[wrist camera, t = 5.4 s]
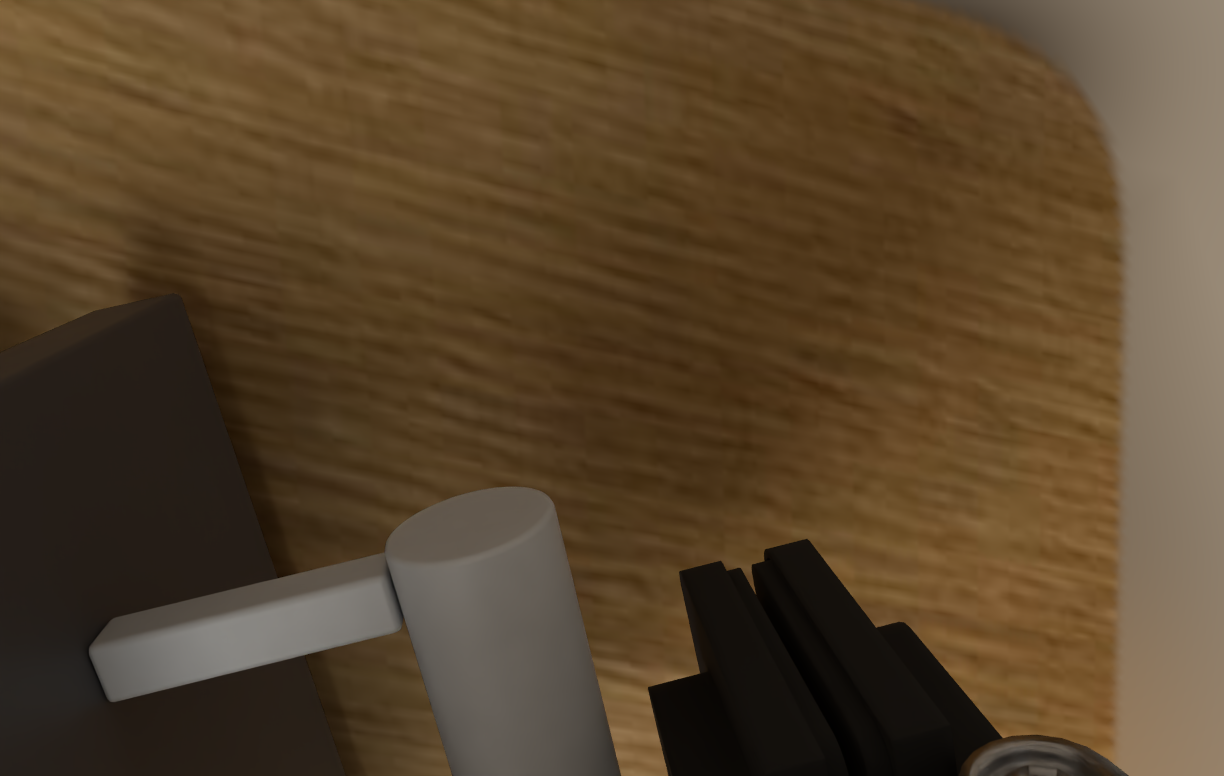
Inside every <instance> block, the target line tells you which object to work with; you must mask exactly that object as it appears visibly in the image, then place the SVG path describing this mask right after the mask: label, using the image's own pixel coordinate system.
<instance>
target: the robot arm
mask: <svg viewBox="0 0 1224 776" xmlns="http://www.w3.org/2000/svg"><path fill="white" fill-rule="evenodd" d="M764 560H765V561H764V562H760V563H756V564H752V575H753V581H754V586H755V591H756V594H755V593H754V591H753V589H752V587H751V586H750V584H749V582H748V580H747V578H746V577H745V575H744V573H743V571H742V570H741V568H737V569H733V570H729V571H726V569H725V567H724V565H723V563H722V562H721V561H718V562H714V563H710V564H706V565H702V566H698V567H694V568H690V569H687V570H683V571H679V575H680V582H681V587H682V591H683V596H684V601H685V605H686V610H687V614H688V619H689V624H690V628H691V633H692V637H693V642H694V647H695V651H696V656H697V661H698V665H699V670H700V674H697V675H693V676H689V677H685V678H681V679H678V680H674V681H670V682H666V683H662V684H658V685H655V686H651V687H648V691H649V695H650V700H651V704H652V708H653V713H654V717H655V721H656V725H657V730H658V734H659V738H660V742H661V746H662V751H663V755H664V759H665V763H666V767H667V771H668V775H669V776H1128V775H1127V774H1126V773H1124V772H1123V771H1122V770H1121V769H1119V768H1118V767H1117V766H1115V765H1114V764H1113V763H1112V762H1110V761H1109V760H1108V759H1106V758H1105V757H1103V756H1101V755H1100V754H1098V753H1096V752H1095V751H1093V750H1091V749H1090V748H1088V747H1086V746H1083V745H1080V744H1077V743H1074V742H1072V741H1069V740H1066V739H1063V738H1056V737H1049V736H1042V735H1020V736H1010V737H1006V738H1002V737H1001V736H1000V734H999V733H998V732H997V731H996V730H995V728H994V727H993V726H992V725H991V724H990V722H989V721H988V720H987V719H986V718H985V716H984V715H983V714H982V713H981V712H980V710H979V709H978V708H977V707H976V706H975V704H974V703H973V702H972V701H971V700H970V699H969V697H968V696H967V695H966V694H965V693H964V691H963V690H962V689H961V688H960V687H959V685H958V684H957V683H956V682H955V681H954V679H953V678H952V677H951V676H950V675H949V673H948V672H947V671H946V670H945V669H944V667H943V666H942V665H941V664H940V663H939V662H938V660H937V659H936V658H935V657H934V656H933V654H932V653H931V652H930V651H929V650H928V648H927V647H926V646H925V645H924V644H923V642H922V641H921V640H920V639H919V638H918V636H917V635H916V634H915V633H914V632H913V630H912V629H911V628H910V627H909V626H908V625H906V624H905V623H904V622H897V623H893V624H889V625H885V626H881V627H877V628H876V627H875V626H874V624H873V623H872V622H871V620H870V619H869V618H868V617H867V615H866V614H865V613H864V611H863V610H862V609H861V607H860V606H859V605H858V604H857V602H856V601H855V600H854V598H853V597H852V596H851V594H850V593H849V592H848V591H847V589H846V588H845V587H844V585H843V584H842V583H841V581H840V580H839V579H838V577H837V576H836V575H835V574H834V572H833V571H832V570H831V568H830V567H829V566H828V564H827V563H826V562H825V561H824V559H823V558H822V557H821V555H820V554H819V553H818V551H817V550H816V549H815V548H814V546H813V545H812V544H811V542H810V541H809V540H808V539H805V540H801V541H797V542H793V543H789V544H785V545H781V546H777V547H773V548H769V549H765V551H764Z"/></svg>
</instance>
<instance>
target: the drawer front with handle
mask: <svg viewBox="0 0 1224 776" xmlns="http://www.w3.org/2000/svg"><path fill="white" fill-rule="evenodd" d="M403 617H404V619H405V622H406V625H407V629H408V632H409V635H410V638H411V642H412V645H413V648H414V651H415V655H416V658H417V661H418V665H419V668H420V671H421V674H422V678H423V681H424V684H425V687H426V691H427V694H428V697H429V700H430V704H431V707H432V710H433V714H434V717H435V720H436V723H437V727H438V730H439V733H440V736H441V740H442V743H443V746H444V750H445V753H446V756H447V759H448V763H449V766H450V769H451V772H452V776H621V774H620V769H619V765H618V761H617V757H616V753H615V749H614V745H613V741H612V737H611V733H610V729H609V725H608V721H607V717H606V713H605V709H604V704H603V700H602V696H601V692H600V688H599V684H598V680H597V676H596V672H595V668H594V664H593V660H592V656H591V652H590V648H589V643H588V639H587V635H586V631H585V627H584V623H583V619H582V615H581V611H580V607H579V603H578V599H577V595H576V591H575V587H574V583H573V578H572V574H571V570H570V566H569V562H568V558H567V554H566V550H565V546H564V542H563V538H562V534H561V530H560V526H559V522H558V517H557V513H556V509H555V506H554V503H553V501H552V500H551V499H550V498H549V496H548V495H546V494H545V493H544V492H541V491H539V490H536V489H533V488H527V487H498V488H490V489H484V490H478V491H474V492H469V493H466V494H462V495H459V496H455V497H452V498H449V499H447V500H444V501H441V502H439V503H437V504H434V505H432V506H430V507H428V508H426V509H424V510H422V511H420V512H418V513H416V514H415V515H413V516H411V517H410V518H408V519H407V520H405V521H404V522H403V523H401V524H400V525H399V526H398V527H397V528H396V529H395V530H394V531H393V532H392V533H391V534H390V536H389V537H388V539H387V542H386V546H385V552H384V553H380V554H376V555H372V556H368V557H364V558H359V559H355V560H351V561H347V562H343V563H339V564H335V565H331V566H326V567H322V568H318V569H314V570H310V571H306V572H302V573H298V574H293V575H289V576H285V577H281V578H278V577H277V574H276V572H275V569H274V566H273V563H272V560H271V557H270V554H269V551H268V548H267V545H266V542H265V540H264V537H263V534H262V531H261V528H260V525H259V522H258V519H257V516H256V513H255V511H254V508H253V505H252V502H251V499H250V496H249V493H248V490H247V487H246V484H245V481H244V479H243V476H242V473H241V470H240V467H239V464H238V461H237V458H236V455H235V452H234V449H233V447H232V444H231V441H230V438H229V435H228V432H227V429H226V426H225V423H224V420H223V418H222V415H221V412H220V409H219V406H218V403H217V400H216V397H215V394H214V391H213V388H212V386H211V383H210V380H209V377H208V374H207V371H206V368H205V365H204V362H203V359H202V356H201V354H200V351H199V348H198V345H197V342H196V339H195V336H194V333H193V330H192V327H191V325H190V322H189V319H188V316H187V313H186V310H185V307H184V304H183V301H182V298H181V297H180V295H179V294H174V293H172V294H168V295H164V296H159V297H155V298H150V299H146V300H141V301H137V302H132V303H128V304H123V305H119V306H114V307H110V308H106V309H101V310H97V311H93V312H91V313H89V314H86V315H84V316H82V317H80V318H77V319H75V320H73V321H71V322H68V323H66V324H64V325H61V326H59V327H57V328H55V329H52V330H50V331H48V332H45V333H43V334H41V335H39V336H36V337H34V338H32V339H30V340H27V341H25V342H23V343H20V344H18V345H16V346H14V347H11V348H9V349H7V350H4V351H2V352H0V776H346V775H345V772H344V769H343V766H342V763H341V760H340V758H339V755H338V752H337V749H336V746H335V743H334V740H333V737H332V734H331V731H330V728H329V726H328V723H327V720H326V717H325V714H324V711H323V708H322V705H321V702H320V699H319V697H318V694H317V691H316V688H315V685H314V682H313V679H312V676H311V673H310V670H309V667H308V665H307V662H306V659H305V656H304V655H307V654H311V653H315V652H319V651H323V650H327V649H331V648H335V647H339V646H343V645H347V644H351V643H355V642H359V641H363V640H367V639H371V638H375V637H380V636H384V635H388V634H392V633H395V632H397V631H399V630H400V629H401V627H402V622H403Z"/></svg>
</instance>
